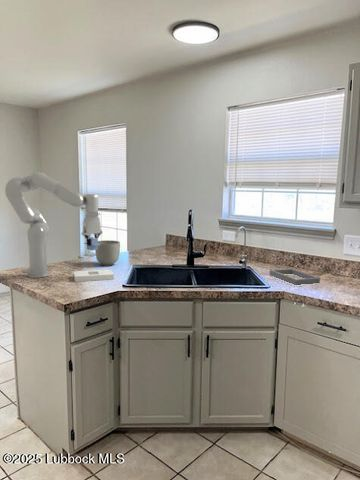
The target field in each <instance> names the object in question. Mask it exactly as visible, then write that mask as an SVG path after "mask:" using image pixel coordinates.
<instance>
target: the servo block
mask: <svg viewBox="0 0 360 480" xmlns="http://www.w3.org/2000/svg"><path fill="white" fill-rule="evenodd" d="M90 239H91V245H90V246H88V245H87V242H84V243H83V244H84V245H86V250H89V251H95V250H98V246H99V245H101V244H98V241H99V238H95V237H93V236H90Z"/></svg>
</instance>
